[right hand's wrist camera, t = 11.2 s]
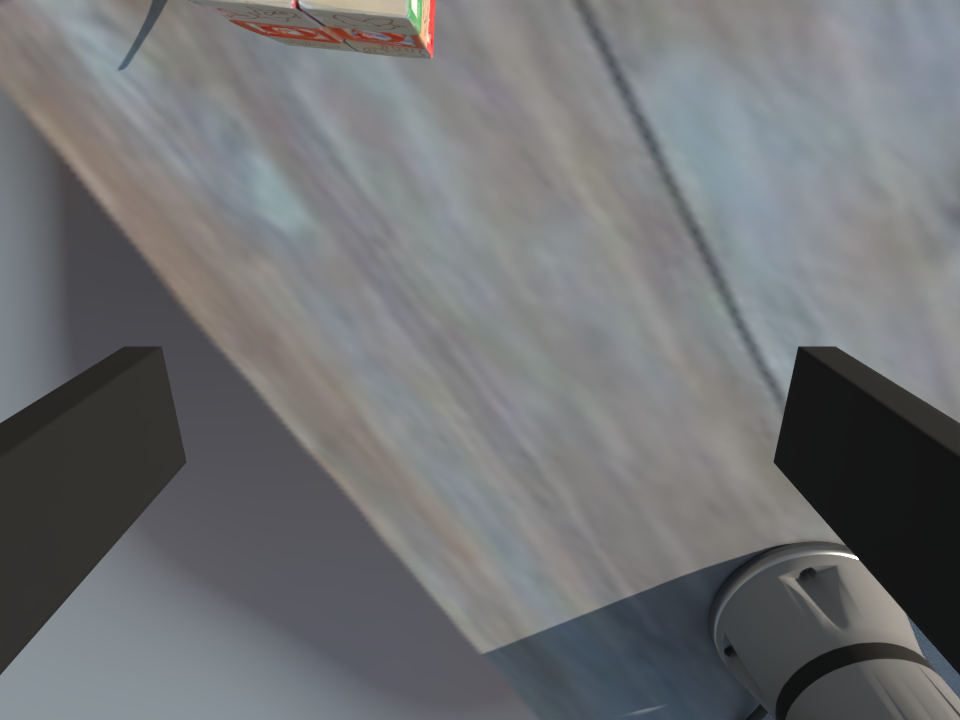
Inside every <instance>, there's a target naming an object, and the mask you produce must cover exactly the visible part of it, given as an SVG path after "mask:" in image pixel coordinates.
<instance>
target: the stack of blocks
mask: <svg viewBox="0 0 960 720" xmlns="http://www.w3.org/2000/svg"><path fill="white" fill-rule="evenodd" d="M189 1H192V2H194V3H196V4H198V5H200V6H202V7H204V8H206V9H208V10H210V11H213V12H215V13H217V14H219V15H221V16H223V17H225V18H228V20H229V21H231V22H233V23H235V24H237V25H239V26H241V27H244V28H246V29H248V30H251V31H253V32H256V33H258V34H261V35H264V36H266V37H269V38H272V39H274V40H276V41H279V42H281V43H284V44H287V45H292V46H303V47H313V48H323V49H333V50H343V51H353V52H362V53H367V54H376V55H385V56H396V57H408V58H432V57H433V38H434V17H435V0H189Z"/></svg>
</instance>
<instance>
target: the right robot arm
mask: <svg viewBox="0 0 960 720" xmlns="http://www.w3.org/2000/svg"><path fill="white" fill-rule="evenodd" d="M185 463H186V458H185V453H184V448H183V444H182V439H181V435H180V430H179V425H178V421H177V416H176V411H175V407H174V402H173V397H172V393H171V388H170V383H169V379H168V374H167V370H166V365H165V360H164V356H163V351H162V347H123V348H121V349H120V350H118V351H116V352H115V353H113V354H112V355H110V356H108V357H107V358H105V359H104V360H102V361H100V362H99V363H97V364H95V365H94V366H92V367H91V368H89V369H87V370H86V371H84V372H83V373H81V374H79V375H78V376H76V377H74V378H73V379H71V380H70V381H68V382H66V383H65V384H63V385H62V386H60V387H58V388H57V389H55V390H53V391H52V392H50V393H49V394H47V395H45V396H44V397H42V398H41V399H39V400H37V401H36V402H34V403H32V404H31V405H29V406H28V407H26V408H24V409H23V410H21V411H19V412H18V413H16V414H15V415H13V416H11V417H10V418H8V419H6V420H5V421H3V422H2V423H0V675H1V674H2V672H3V671H4V670H5V669H6V668H7V667H8V665H9V664H10V663H11V662H12V661H13V660H14V659H15V657H16V656H17V655H18V654H19V653H20V652H21V651H22V649H23V648H24V647H25V646H26V645H27V644H28V643H29V642H30V640H31V639H32V638H33V637H34V636H35V635H36V634H37V632H38V631H39V630H40V629H41V628H42V627H43V626H44V624H45V623H46V622H47V621H48V620H49V619H50V618H51V616H52V615H53V614H54V613H55V612H56V611H57V610H58V608H59V607H60V606H61V605H62V604H63V603H64V602H65V600H66V599H67V598H68V597H69V596H70V595H71V593H72V592H73V591H74V590H75V589H76V588H77V587H78V586H79V584H80V583H81V582H82V581H83V580H84V579H85V578H86V576H87V575H88V574H89V573H90V572H91V571H92V570H93V568H94V567H95V566H96V565H97V564H98V563H99V562H100V560H101V559H102V558H103V557H104V556H105V555H106V554H107V552H108V551H109V550H110V549H111V548H112V547H113V546H114V544H115V543H116V542H117V541H118V540H119V539H120V538H121V536H122V535H123V534H124V533H125V532H126V531H127V530H128V528H129V527H130V526H131V525H132V524H133V523H134V522H135V520H136V519H137V518H138V517H139V516H140V515H141V514H142V512H143V511H144V510H145V509H146V508H147V507H148V506H149V504H150V503H151V502H152V501H153V500H154V499H155V498H156V496H157V495H158V494H159V493H160V492H161V491H162V489H163V488H164V487H165V486H166V485H167V484H168V483H169V481H170V480H171V479H172V478H173V477H174V476H175V475H176V474H177V472H178V471H179V470H180V469H181V468H182V467H183V466H184V464H185ZM774 463H775V464H776V466H777V467H778V468H779V469H780V470H781V471H782V472H783V474H784V475H785V476H786V477H787V478H788V479H789V480H790V482H791V483H792V484H793V485H794V486H795V487H796V488H797V490H798V491H799V492H800V493H801V494H802V495H803V496H804V498H805V499H806V500H807V501H808V502H809V503H810V504H811V506H812V507H813V508H814V509H815V510H816V511H817V512H818V514H819V515H820V516H821V517H822V518H823V519H824V520H825V522H826V523H827V524H828V525H829V526H830V527H831V528H832V530H833V531H834V532H835V533H836V534H837V535H838V536H839V538H840V539H841V540H842V541H843V542H844V543H845V544H846V546H844V545H840V544H836V543H830V542H802V543H795V544H790V545H786V546H782V547H779V548H776V549H773V550H770V551H768V552H765V553H763V554H761V555H759V556H757V557H755V558H754V559H752V560H750V561H749V562H747V563H746V564H744V565H743V566H742V567H740V568H739V569H738V570H737V571H736V572H734V573H733V574H732V575H731V576H730V577H729V578H728V579H727V581H726V582H725V583H724V584H723V586H722V587H721V588H720V590H719V591H718V593H717V595H716V597H715V599H714V601H713V604H712V607H711V610H710V616H709V628H710V633H711V637H712V640H713V642H714V644H715V647H716V649H717V651H718V653H719V655H720V657H721V659H722V661H723V662H724V664H725V665H726V666H727V668H728V669H729V670H730V672H731V673H732V674H733V675H734V676H735V677H736V678H737V679H738V681H739V682H740V683H741V684H742V685H743V686H744V687H745V688H746V689H747V690H748V691H749V692H750V693H751V694H752V695H753V697H754V698H755V699H756V700H757V701H758V702H759V703H760V705H759V706H758V707H757V709H756V710H755V711H754V712H753V713H752V714H751V715H750V716H748V717H747V718H746V719H745V720H761V719H762V718H763V717H764V716H765V715H766V714H767V713H769V714H770V715H771V716H772V717H773V718H774V719H775V720H960V699H959V698H958V697H957V695H956V694H955V693H954V692H953V691H952V690H951V688H950V687H949V686H948V685H947V684H946V683H945V681H944V680H943V679H942V678H941V677H940V676H939V675H938V673H937V672H936V671H935V670H934V669H933V667H932V666H931V665H930V664H929V663H928V661H927V660H926V659H925V658H924V656H923V655H922V653H921V650H920V648H919V645H918V643H917V640H916V638H915V635H914V633H913V630H912V628H911V625H910V623H909V620H908V618H907V616H909V618H910V619H911V620H912V621H913V622H914V623H915V624H916V626H917V627H918V628H919V629H920V630H921V631H922V632H923V634H924V635H925V636H926V637H927V638H928V639H929V640H930V642H931V643H932V644H933V645H934V646H935V647H936V648H937V650H938V651H939V652H940V653H941V654H942V655H943V656H944V658H945V659H946V660H947V661H948V662H949V663H950V664H951V666H952V667H953V668H954V669H955V670H956V671H957V672H958V674H959V675H960V423H958V422H957V421H955V420H954V419H952V418H950V417H949V416H947V415H945V414H944V413H942V412H941V411H939V410H937V409H936V408H934V407H933V406H931V405H929V404H928V403H926V402H924V401H923V400H921V399H920V398H918V397H916V396H915V395H913V394H911V393H910V392H908V391H907V390H905V389H903V388H902V387H900V386H899V385H897V384H895V383H894V382H892V381H890V380H889V379H887V378H886V377H884V376H882V375H881V374H879V373H878V372H876V371H874V370H873V369H871V368H869V367H868V366H866V365H865V364H863V363H861V362H860V361H858V360H856V359H855V358H853V357H852V356H850V355H848V354H847V353H845V352H844V351H842V350H840V349H839V348H837V347H798V351H797V356H796V360H795V365H794V369H793V374H792V379H791V383H790V388H789V393H788V397H787V402H786V407H785V411H784V416H783V421H782V425H781V430H780V434H779V439H778V444H777V448H776V453H775V458H774Z"/></svg>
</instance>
